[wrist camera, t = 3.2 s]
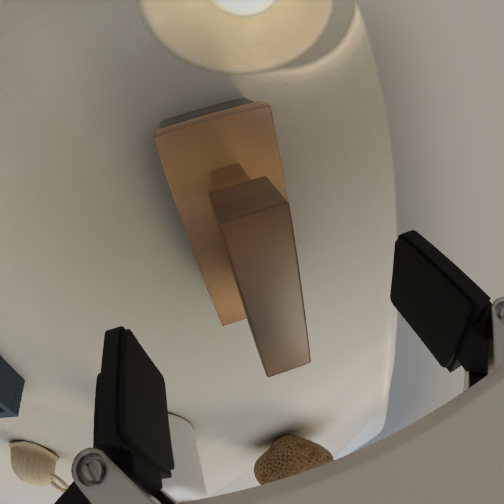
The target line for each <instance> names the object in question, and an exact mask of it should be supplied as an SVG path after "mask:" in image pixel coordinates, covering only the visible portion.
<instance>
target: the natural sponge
mask: <svg viewBox="0 0 504 504" xmlns="http://www.w3.org/2000/svg"><path fill="white" fill-rule="evenodd" d="M332 461H334V460H333V457H332V455H331V453H330V452H329V451H328V450H326V449H325V448H324V447H322V446H321V445H319V444H316V443H314V442H312V441H309V440H307V439H305V438H302V437H299V436H295V435H285V436H282V437H280V438H278V439H277V440H276V441H275V442H274V443H273V444H272V445H271V447H270V448H269V449H268V451H266V452H265V453H264V454H263V455H262V456H261V457H260V458H259V459H258V460H257V461H256V463H255V466H254V473H255V477H256V479H257V481H258V482H259V483H260V484H261V485H264V484H267V483H271V482H274V481H277V480H281V479H284V478H287V477H290V476H293V475H296V474H299V473H302V472H305V471H308V470H311V469H313V468H316V467H319V466H321V465H324V464H327V463H329V462H332Z"/></svg>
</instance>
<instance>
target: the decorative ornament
mask: <svg viewBox="0 0 504 504" xmlns="http://www.w3.org/2000/svg"><path fill="white" fill-rule="evenodd" d="M9 447H10V449H11V464H12V468H13V470H14V472H15V474H16V475H17V476H18V477H19V478H20V479H21V480H23V481H25V482H27V483H30V484H33V485H38V486H43V485H47V484H51V485H52V486H54V487H55V488H56V489H58V490H60V491H62V492H65V491H66V490H67V489H68V487H69V486H68V485H67V484H66V483H65V482H64V481H63V480H62V479H61V478H59V477H58V476H56V475H55V466H56V462H57V460H59V459H58V458H57V456H56V455H54V454H53V453H52V452H50V451H48V450H47V449H46V448H44V447H41V446H39V445H38V444H36V443H31V442H27V441H21V442H14V443H10V444H9ZM53 479H55V480H57V481H58V482H60V483H61V484H62V485H63V486H64V487H65V488H66V489H63V488H61V487H60V486H58V485H57V484H56V483H55V482H54V481H53Z"/></svg>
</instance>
